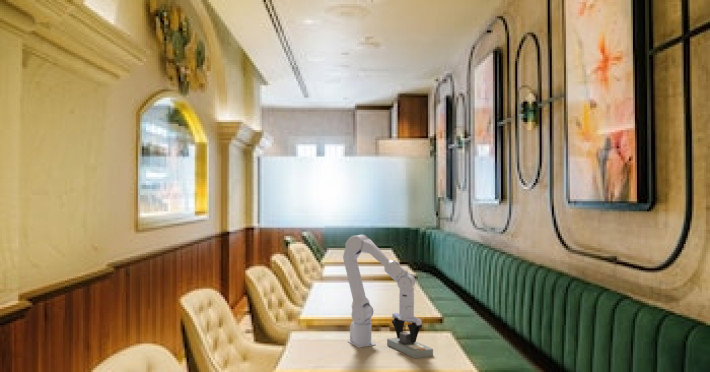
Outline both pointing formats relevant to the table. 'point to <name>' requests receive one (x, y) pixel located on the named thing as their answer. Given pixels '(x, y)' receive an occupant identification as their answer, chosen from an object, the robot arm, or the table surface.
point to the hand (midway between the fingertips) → (406, 340)
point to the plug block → (405, 338)
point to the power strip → (410, 348)
